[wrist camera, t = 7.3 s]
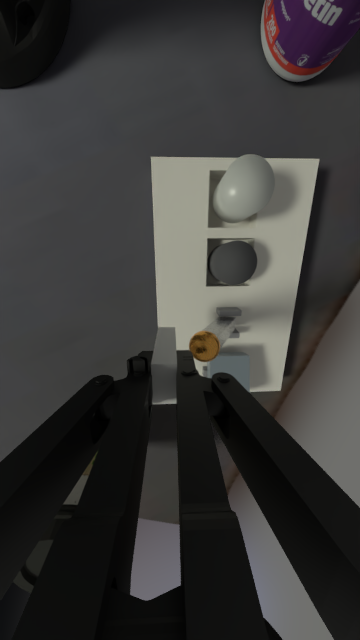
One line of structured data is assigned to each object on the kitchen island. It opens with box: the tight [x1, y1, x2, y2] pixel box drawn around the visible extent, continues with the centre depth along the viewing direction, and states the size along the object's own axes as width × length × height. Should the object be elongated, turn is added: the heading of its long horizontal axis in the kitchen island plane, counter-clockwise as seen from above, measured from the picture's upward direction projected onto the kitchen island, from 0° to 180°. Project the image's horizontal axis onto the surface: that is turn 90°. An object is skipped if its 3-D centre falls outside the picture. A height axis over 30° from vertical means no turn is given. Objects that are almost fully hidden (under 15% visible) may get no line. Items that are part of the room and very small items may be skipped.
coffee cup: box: [13, 451, 98, 593], centre depth 24 cm, size 10×10×15 cm
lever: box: [189, 316, 236, 362], centre depth 19 cm, size 3×3×9 cm
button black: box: [208, 240, 257, 285], centre depth 21 cm, size 4×4×4 cm
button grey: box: [213, 154, 275, 223], centre depth 18 cm, size 4×4×4 cm
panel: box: [151, 157, 319, 392], centre depth 23 cm, size 26×16×5 cm, turn 0°
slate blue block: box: [207, 352, 250, 393], centre depth 23 cm, size 6×4×2 cm
